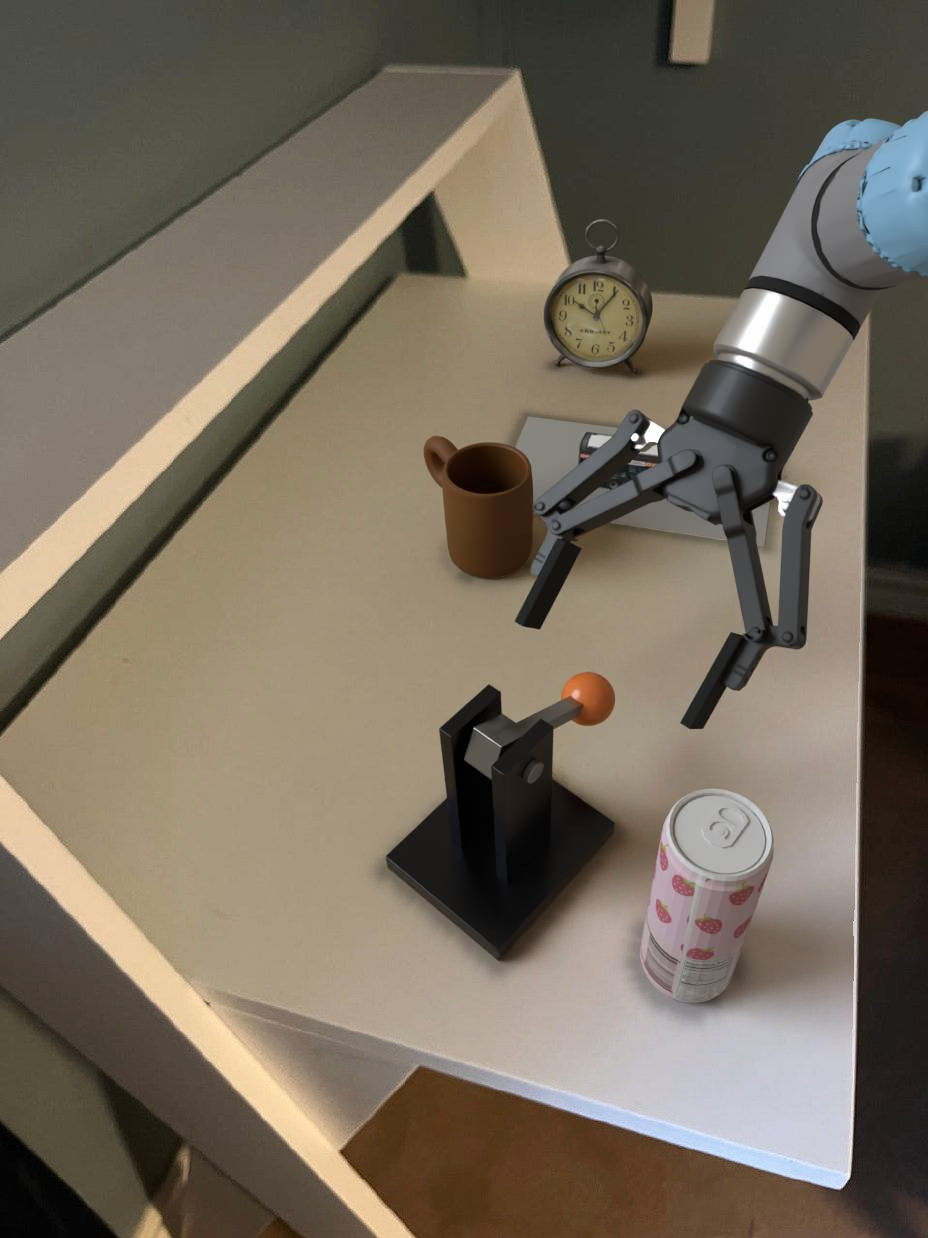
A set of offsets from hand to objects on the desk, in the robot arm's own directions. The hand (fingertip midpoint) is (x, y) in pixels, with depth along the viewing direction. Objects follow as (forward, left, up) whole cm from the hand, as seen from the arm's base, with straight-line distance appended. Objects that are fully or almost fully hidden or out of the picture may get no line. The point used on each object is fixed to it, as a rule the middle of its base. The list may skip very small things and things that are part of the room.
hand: (604, 673), depth 65 cm
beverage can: (-15, +7, -9) cm, 19 cm away
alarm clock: (+38, -35, -9) cm, 53 cm away
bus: (+21, -25, -9) cm, 34 cm away
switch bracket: (-2, +11, -9) cm, 14 cm away
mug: (+24, -7, -9) cm, 27 cm away
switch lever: (-1, +7, 0) cm, 7 cm away
